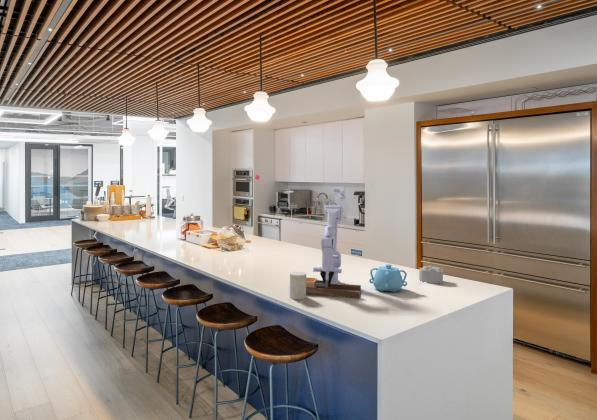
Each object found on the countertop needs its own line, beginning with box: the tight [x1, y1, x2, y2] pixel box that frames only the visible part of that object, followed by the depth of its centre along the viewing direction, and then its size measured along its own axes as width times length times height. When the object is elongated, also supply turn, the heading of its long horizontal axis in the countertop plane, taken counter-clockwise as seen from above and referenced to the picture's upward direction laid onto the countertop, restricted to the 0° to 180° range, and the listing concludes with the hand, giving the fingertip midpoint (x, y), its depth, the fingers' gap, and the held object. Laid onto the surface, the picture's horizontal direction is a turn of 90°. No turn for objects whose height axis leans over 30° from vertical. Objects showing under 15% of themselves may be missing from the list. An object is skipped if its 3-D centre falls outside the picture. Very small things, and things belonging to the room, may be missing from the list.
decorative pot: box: [368, 263, 408, 293], centre depth 227 cm, size 16×16×14 cm
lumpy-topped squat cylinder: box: [418, 265, 444, 284], centre depth 246 cm, size 10×13×9 cm
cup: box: [289, 271, 307, 300], centre depth 210 cm, size 8×8×12 cm
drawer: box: [306, 276, 329, 289], centre depth 221 cm, size 9×16×5 cm, turn 78°
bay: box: [306, 283, 362, 299], centre depth 219 cm, size 13×34×7 cm, turn 78°
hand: (327, 286), depth 219 cm, fingers closed
